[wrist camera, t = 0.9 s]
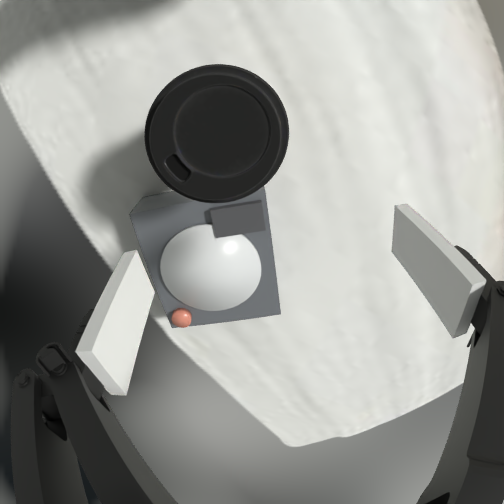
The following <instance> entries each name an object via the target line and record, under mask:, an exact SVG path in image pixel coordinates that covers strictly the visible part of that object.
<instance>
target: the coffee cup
mask: <svg viewBox="0 0 504 504" xmlns="http://www.w3.org/2000/svg"><path fill="white" fill-rule="evenodd" d="M288 140H289V125H288V118H287V114H286V111H285V108H284V106H283V104H282V102H281V100H280V98H279V96H278V95H277V94H276V92H275V91H274V90H273V88H272V87H271V86H270V85H269V84H268V83H267V82H266V81H264V80H263V79H262V78H260V77H259V76H257V75H256V74H254V73H252V72H250V71H248V70H245V69H243V68H240V67H236V66H231V65H224V64H214V65H206V66H201V67H197V68H194V69H191V70H189V71H187V72H184V73H183V74H181V75H179V76H178V77H176V78H175V79H173V80H172V81H171V82H170V83H169V84H167V85H166V86H165V88H164V89H163V90H162V91H161V92H160V93H159V94H158V96H157V97H156V99H155V100H154V102H153V104H152V106H151V108H150V110H149V113H148V116H147V120H146V125H145V146H146V151H147V155H148V158H149V160H150V163H151V165H152V167H153V169H154V170H155V172H156V173H157V175H158V176H159V177H160V178H161V180H162V181H163V182H164V183H165V184H166V185H167V186H169V187H170V188H171V189H172V190H174V191H175V192H177V193H179V194H180V195H182V196H184V197H186V198H189V199H192V200H195V201H199V202H204V203H227V202H232V201H236V200H239V199H242V198H245V197H247V196H249V195H251V194H253V193H255V192H256V191H258V190H259V189H260V188H262V187H263V186H264V185H265V184H266V183H268V181H269V180H270V179H271V178H272V177H273V176H274V175H275V173H276V172H277V170H278V169H279V167H280V165H281V164H282V161H283V159H284V157H285V154H286V150H287V146H288Z"/></svg>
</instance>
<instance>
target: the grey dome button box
mask: <svg viewBox="0 0 504 504" xmlns="http://www.w3.org/2000/svg"><path fill="white" fill-rule="evenodd" d="M130 217H131V220H132V224H133V227H134V230H135V233H136V236H137V239H138V241H139V244H140V247H141V250H142V253H143V256H144V259H145V261H146V264H147V267H148V269H149V272H150V275H151V277H152V280H153V283H154V285H155V288H156V290H157V293H158V295H159V298H160V300H161V303H162V305H163V308H164V310H165V313H166V315H167V317H168V320H169V322H170V324H171V327H172V328H177V327H181V328H184V327H187V326H196V325H205V324H214V323H222V322H230V321H237V320H245V319H252V318H259V317H266V316H272V315H279V314H281V311H280V303H279V294H278V286H277V278H276V270H275V262H274V254H273V246H272V238H271V230H270V223H269V215H268V208H267V201H266V193H265V188H264V186H263V187H262V188H260V189H259V190H258V191H256V192H255V193H253V194H251V195H249V196H247V197H245V198H242V199H239V200H236V201H232V202H227V203H204V202H199V201H195V200H192V199H189V198H186V197H184V196H182V195H180V194H179V193H177V192H175V191H171V192H166V193H161V194H157V195H152V196H147V197H143V198H142V199H141V200H140V201H139V203H138V204H137V205H136V206H135V208H134V209H133V210H132V211H131V213H130Z"/></svg>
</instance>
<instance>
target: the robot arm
mask: <svg viewBox="0 0 504 504" xmlns="http://www.w3.org/2000/svg"><path fill="white" fill-rule="evenodd" d="M392 253H393V254H394V255H395V257H396V258H397V259H398V261H399V262H400V263H401V265H402V266H403V267H404V268H405V270H406V271H407V272H408V274H409V275H410V277H411V278H412V279H413V281H414V282H415V283H416V285H417V286H418V288H419V289H420V290H421V292H422V293H423V295H424V296H425V297H426V299H427V300H428V302H429V303H430V305H431V306H432V308H433V309H434V310H435V312H436V313H437V315H438V316H439V318H440V319H441V321H442V323H443V324H444V326H445V327H446V329H447V330H448V332H449V333H450V335H451V337H452V338H455V337H458V336H460V335H463V334H465V333H467V330H468V328H469V326H470V323H472V325H473V326H474V328H475V330H474V332H473V334H472V336H471V338H470V340H469V343H468V345H467V347H469V346H470V344H471V348H470V354H469V359H468V364H467V370H466V374H465V379H464V384H463V388H462V392H461V396H460V400H459V404H458V407H457V411H456V415H455V418H454V421H453V425H452V428H451V431H450V434H449V437H448V440H447V443H446V445H445V448H444V451H443V454H442V456H441V459H440V461H439V464H438V466H437V469H436V471H435V474H434V476H433V478H432V480H431V482H430V483H429V485H428V486H427V488H426V489H425V490H424V492H423V493H422V495H421V496H420V498H419V500H418V502H417V504H502V503H503V500H504V281H495V280H494V279H493V277H492V276H491V275H490V274H489V273H488V272H487V271H486V270H485V269H484V268H483V267H482V266H481V265H480V264H478V262H477V261H476V260H475V259H473V257H472V256H471V255H470V254H469V253H468V252H467V251H466V250H464V249H463V248H461V247H459V246H453V245H452V244H451V243H450V242H449V241H448V240H447V239H446V238H445V237H444V236H443V235H442V234H441V233H439V232H438V231H437V230H436V229H435V228H434V227H433V226H432V225H431V224H430V223H429V222H428V221H426V220H425V219H424V218H423V217H422V216H421V215H420V214H419V213H417V212H416V211H415V210H414V209H413V208H412V207H410V206H409V205H408V204H402V205H395V211H394V228H393V241H392ZM154 294H155V291H154V289H153V287H152V285H151V282H150V280H149V278H148V275H147V273H146V271H145V268H144V266H143V263H142V261H141V259H140V256H139V254H138V251H137V250H133V251H128V252H124V253H123V255H122V257H121V259H120V261H119V262H118V264H117V266H116V268H115V270H114V272H113V274H112V276H111V277H110V279H109V281H108V283H107V285H106V287H105V289H104V291H103V293H102V295H101V297H100V299H99V301H98V303H97V305H96V307H95V309H91V310H90V311H89V312H88V313H87V314H86V315H85V316H84V318H83V320H82V322H81V324H80V327H79V328H78V330H77V332H76V333H77V334H75V337H74V339H73V341H72V343H71V345H70V347H69V350H68V352H66V351H65V350H64V349H63V347H62V346H61V345H60V343H58V342H51V343H49V344H47V345H45V346H44V347H43V348H42V349H41V350H40V351H39V352H38V354H37V357H36V363H37V365H38V366H39V367H40V368H41V369H42V371H43V372H44V373H45V374H41V375H38V376H37V375H36V374H35V373H34V371H33V370H32V369H29V368H28V369H24V370H22V371H21V372H19V374H17V376H16V378H15V379H14V383H13V391H12V408H11V453H12V470H13V480H14V489H15V496H16V503H17V504H88V501H87V498H86V494H85V490H84V486H83V482H82V478H81V474H80V470H79V465H78V460H77V457H78V459H79V461H80V464H81V466H82V468H83V470H84V472H85V474H86V476H87V478H88V480H89V482H90V484H91V486H92V487H93V489H94V491H95V493H96V495H97V497H98V498H99V500H100V502H101V503H102V504H178V503H177V502H176V501H175V500H174V498H173V497H172V496H171V495H170V494H169V493H168V491H167V490H166V489H165V487H164V486H163V485H162V484H161V482H160V481H159V480H158V478H157V477H156V476H155V475H154V473H153V472H152V470H151V469H150V468H149V466H148V465H147V464H146V462H145V461H144V459H143V458H142V456H141V455H140V454H139V452H138V451H137V449H136V448H135V446H134V445H133V443H132V442H131V440H130V439H129V437H128V435H127V434H126V432H125V431H124V429H123V427H122V426H121V424H120V423H119V421H118V419H117V418H116V416H115V414H114V413H113V411H112V409H111V407H110V405H109V404H108V402H107V400H106V398H105V397H104V396H103V395H102V392H103V388H105V389H106V390H107V391H108V392H109V393H110V394H111V395H127V391H128V387H129V383H130V378H131V375H132V371H133V367H134V363H135V359H136V355H137V352H138V348H139V344H140V340H141V337H142V333H143V330H144V327H145V323H146V320H147V316H148V313H149V310H150V306H151V303H152V300H153V297H154ZM42 417H43V418H42Z"/></svg>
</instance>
